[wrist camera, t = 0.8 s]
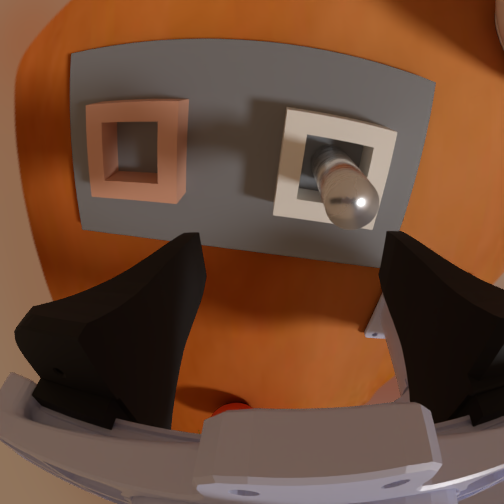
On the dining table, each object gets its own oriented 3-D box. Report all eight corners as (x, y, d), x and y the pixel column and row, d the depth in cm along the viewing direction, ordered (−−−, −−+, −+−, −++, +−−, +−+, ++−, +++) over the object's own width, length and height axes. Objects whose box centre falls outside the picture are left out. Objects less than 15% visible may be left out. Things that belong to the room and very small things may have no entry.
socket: (189, 98, 16) (178, 101, 14) (185, 192, 19) (176, 204, 18) (102, 101, 16) (85, 105, 15) (105, 186, 20) (91, 196, 18)
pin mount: (386, 126, 16) (397, 132, 14) (364, 216, 19) (372, 229, 17) (286, 106, 16) (287, 109, 14) (273, 202, 19) (272, 215, 18)
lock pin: (351, 149, 17) (385, 183, 11) (344, 184, 18) (371, 233, 13) (313, 142, 17) (331, 172, 11) (307, 178, 18) (319, 225, 13)
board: (428, 81, 15) (435, 82, 14) (382, 261, 22) (385, 268, 21) (79, 53, 15) (71, 53, 14) (88, 224, 23) (82, 229, 22)
